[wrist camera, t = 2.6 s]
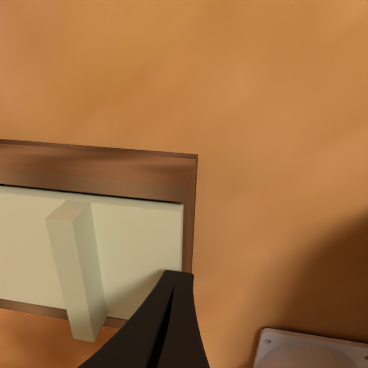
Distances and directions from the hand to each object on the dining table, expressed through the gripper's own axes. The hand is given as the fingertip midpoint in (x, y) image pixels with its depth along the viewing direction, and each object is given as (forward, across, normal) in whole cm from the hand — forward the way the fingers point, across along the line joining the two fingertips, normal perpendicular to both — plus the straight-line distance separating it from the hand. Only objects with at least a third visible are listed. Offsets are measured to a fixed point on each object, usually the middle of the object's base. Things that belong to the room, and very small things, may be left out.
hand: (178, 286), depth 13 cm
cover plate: (+1, +6, 0) cm, 7 cm away
